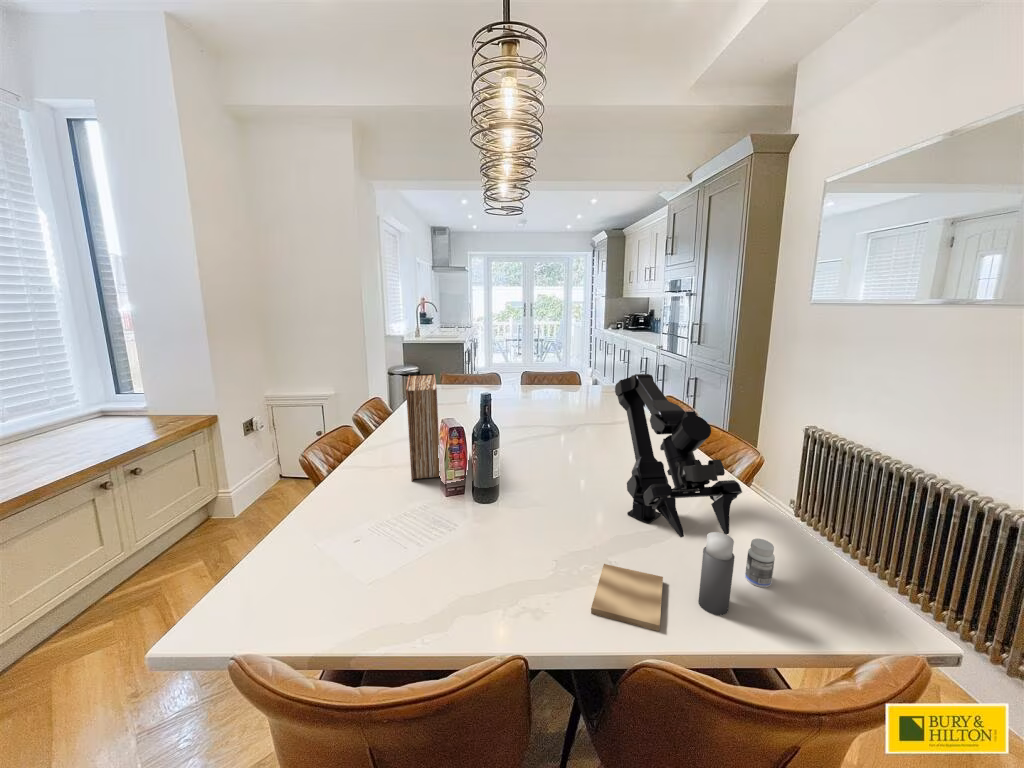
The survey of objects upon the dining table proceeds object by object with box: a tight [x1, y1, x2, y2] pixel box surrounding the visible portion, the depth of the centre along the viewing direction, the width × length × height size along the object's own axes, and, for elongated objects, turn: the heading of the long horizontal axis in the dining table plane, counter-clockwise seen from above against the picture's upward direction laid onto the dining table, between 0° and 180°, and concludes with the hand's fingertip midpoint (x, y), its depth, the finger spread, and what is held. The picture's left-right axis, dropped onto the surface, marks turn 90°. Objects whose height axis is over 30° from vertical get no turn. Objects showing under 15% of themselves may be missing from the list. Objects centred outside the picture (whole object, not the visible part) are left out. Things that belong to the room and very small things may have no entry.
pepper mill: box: [697, 531, 736, 616], centre depth 79 cm, size 5×5×14 cm
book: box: [405, 373, 440, 482], centre depth 145 cm, size 25×9×30 cm, turn 11°
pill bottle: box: [744, 538, 776, 588], centre depth 87 cm, size 5×5×8 cm
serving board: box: [590, 563, 664, 632], centre depth 83 cm, size 14×12×1 cm
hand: (704, 535), depth 83 cm, fingers open, 9 cm apart
